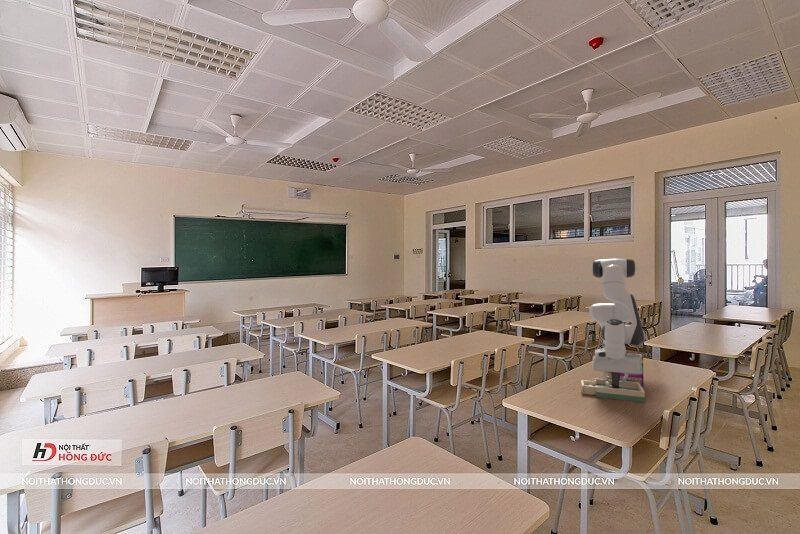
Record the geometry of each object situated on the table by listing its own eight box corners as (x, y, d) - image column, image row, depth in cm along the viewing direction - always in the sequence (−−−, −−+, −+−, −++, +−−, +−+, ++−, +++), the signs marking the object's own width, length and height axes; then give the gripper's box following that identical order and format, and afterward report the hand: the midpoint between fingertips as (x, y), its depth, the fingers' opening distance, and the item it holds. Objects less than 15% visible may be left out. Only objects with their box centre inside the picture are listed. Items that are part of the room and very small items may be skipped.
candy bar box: (642, 384, 192) (642, 353, 191) (643, 387, 187) (643, 356, 187) (618, 381, 197) (617, 351, 196) (618, 384, 192) (618, 353, 192)
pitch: (580, 385, 192) (580, 376, 192) (639, 391, 181) (638, 382, 181) (582, 395, 179) (582, 385, 179) (645, 402, 169) (644, 392, 169)
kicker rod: (605, 385, 183) (605, 370, 183) (618, 387, 181) (618, 371, 181) (606, 389, 179) (606, 373, 179) (620, 390, 177) (619, 374, 176)
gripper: (638, 353, 178) (639, 381, 178) (591, 349, 186) (591, 376, 186) (641, 356, 172) (641, 385, 172) (592, 353, 180) (592, 380, 181)
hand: (615, 380), depth 179 cm, fingers open, 6 cm apart
